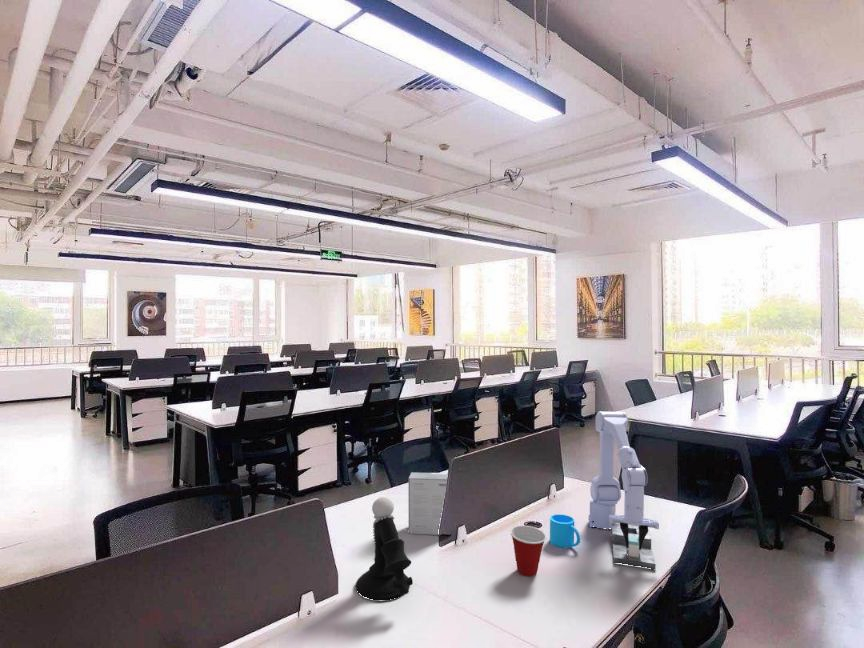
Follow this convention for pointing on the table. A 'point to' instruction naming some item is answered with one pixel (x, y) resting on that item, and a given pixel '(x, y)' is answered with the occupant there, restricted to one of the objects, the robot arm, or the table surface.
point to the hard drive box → (426, 502)
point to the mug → (563, 531)
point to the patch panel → (621, 551)
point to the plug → (633, 546)
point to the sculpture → (385, 558)
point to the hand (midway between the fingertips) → (633, 547)
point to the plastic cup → (527, 548)
